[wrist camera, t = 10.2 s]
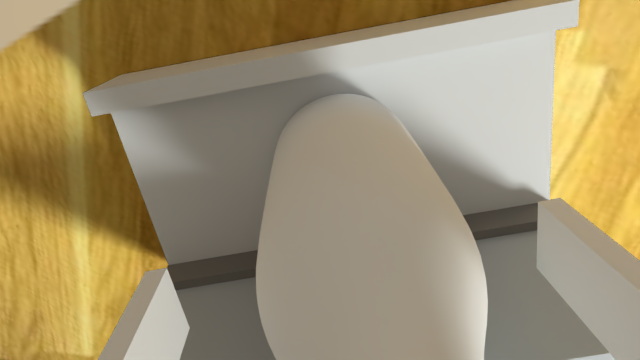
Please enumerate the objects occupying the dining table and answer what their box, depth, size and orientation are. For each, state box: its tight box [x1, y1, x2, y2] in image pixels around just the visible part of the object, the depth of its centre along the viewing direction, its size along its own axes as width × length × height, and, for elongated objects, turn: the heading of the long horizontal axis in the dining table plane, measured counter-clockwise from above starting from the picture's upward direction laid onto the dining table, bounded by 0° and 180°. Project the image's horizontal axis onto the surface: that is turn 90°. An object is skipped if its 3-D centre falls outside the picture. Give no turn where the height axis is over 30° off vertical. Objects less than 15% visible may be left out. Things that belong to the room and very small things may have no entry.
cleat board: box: [83, 0, 615, 360], centre depth 22 cm, size 24×14×14 cm, turn 100°
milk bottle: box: [256, 94, 488, 360], centre depth 16 cm, size 8×8×20 cm
